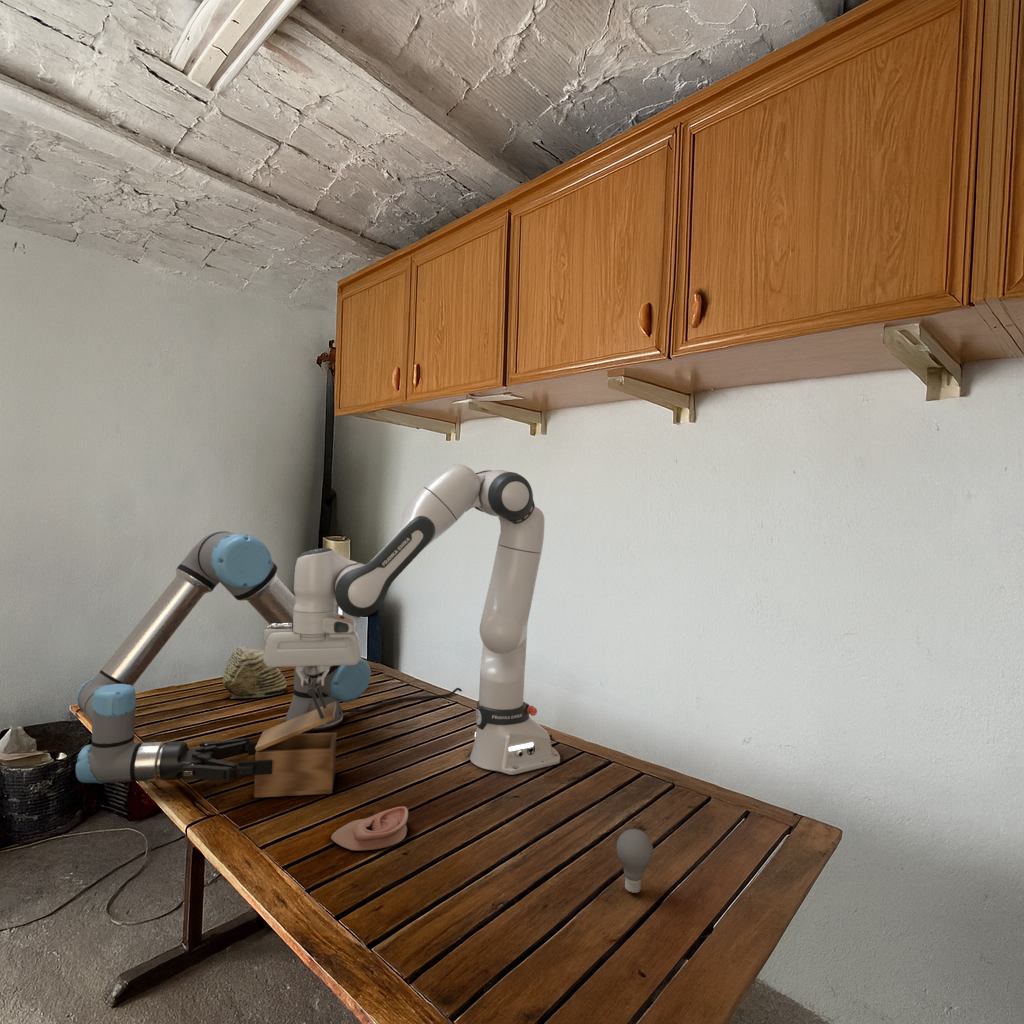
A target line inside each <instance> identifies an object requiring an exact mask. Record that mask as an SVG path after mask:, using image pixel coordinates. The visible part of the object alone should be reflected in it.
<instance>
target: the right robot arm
mask: <svg viewBox="0 0 1024 1024" xmlns="http://www.w3.org/2000/svg"><path fill="white" fill-rule="evenodd" d="M533 494H534V493H533V488H532V486H531V484H530V482H529V481H528V480H527V479H526V478H525V477H524V476H523V475H522V474H519V473H517V472H515V471H514V472H513V471H508V470H503V469H496V470H491V469H489V470H487V469H486V470H482V471H478V472H475V471H474V470H473V469H472V468H470V467H469V466H467V465H465V464H461V463H456V464H453V465H450V466H449V467H447V468H446V469H444V470H443V471H441V472H439V473H438V474H437V475H436V476H435V477H433V478H431V480H430V481H428V482H427V483H426V484H425V485H424V486H423V487H422V488H421V489H419V491H417V493H416V494H415V495H414V496H413V498H411V500H410V501H409V502H408V504H407V505H406V506H405V508H404V510H403V516H402V521H401V525H400V527H399V529H398V531H397V532H396V534H395V536H393V538H392V539H390V540H389V542H387V544H386V545H385V546H384V547H383V548H382V549H381V550H380V551H379V552H378V553H377V554H376V555H375V556H374V557H373V558H372V559H371V560H370V561H369V562H367V563H365V564H364V563H362V562H358V561H355V560H352V559H349V558H348V557H345V556H343V555H341V554H339V553H338V552H336V551H335V550H334V549H333V548H329V547H320V548H315V549H310V550H306V551H304V552H302V553H301V554H300V555H299V556H298V557H297V559H296V562H295V567H294V577H293V593H294V596H295V604H294V608H293V623H282V624H278V623H272V624H271V625H270V624H269V625H267V626H266V627H265V628H264V630H263V642H264V643H265V647H264V652H265V653H264V664H265V665H266V666H267V667H276V668H292V667H293V668H294V667H296V672H297V674H298V676H299V677H300V679H301V687H303V686H308V685H309V681H308V680H309V677H305V675H304V673H303V672H302V671H303V669H304V666H323V671H324V673H323V674H322V676H318V678H317V686H324V681H325V677H326V675H327V673H328V672H329V670H330V666H339V665H357V664H358V663H359V662H360V660H361V658H362V654H361V652H362V651H361V640H360V635H359V633H358V632H357V631H356V626H357V623H356V620H355V617H356V618H364V617H367V616H371V615H372V614H374V613H375V612H377V610H379V609H380V608H381V606H382V605H383V603H384V601H385V599H386V596H387V594H388V591H389V590H390V587H391V585H392V584H393V583H394V581H395V580H396V579H397V578H398V577H399V576H400V575H401V573H403V571H404V570H405V569H406V568H407V567H408V566H409V565H410V564H411V563H412V562H413V561H414V560H415V559H416V557H418V555H419V554H420V553H421V552H422V551H423V550H425V549H426V548H427V547H428V546H429V545H430V544H431V543H433V542H435V541H436V540H437V539H438V538H440V537H441V536H442V535H443V534H444V533H445V532H447V531H448V530H449V529H450V528H452V526H454V525H455V524H456V522H458V520H460V518H462V517H463V516H464V514H465V513H467V512H469V511H470V510H471V509H473V508H474V509H476V510H477V511H480V512H482V513H485V514H487V515H489V516H492V517H497V518H498V520H499V524H500V533H499V536H498V541H497V546H496V551H495V557H494V560H493V566H492V571H491V576H490V580H489V584H488V587H487V592H486V596H485V601H484V606H483V609H482V615H481V618H480V622H479V637H480V639H481V642H482V652H481V662H480V667H479V669H480V670H479V691H478V692H479V693H478V701H477V702H476V710H475V723H476V730H475V732H474V742H473V746H472V750H471V753H470V755H469V760H470V762H471V763H472V764H473V765H475V766H476V767H478V768H480V769H484V770H487V771H488V770H489V771H494V772H500V773H502V774H506V775H511V776H514V775H519V774H522V773H527V772H530V771H534V770H539V769H543V768H546V767H551V766H554V765H559V764H560V763H561V756H560V754H559V752H558V751H557V749H556V748H554V747H553V746H552V741H551V739H552V738H553V735H552V734H549V733H548V731H547V729H545V728H544V727H543V726H542V725H540V724H539V723H538V722H537V721H536V720H535V719H533V718H532V717H531V716H533V717H535V716H537V714H538V709H537V708H536V707H535V706H534V705H530V704H529V703H527V702H526V701H524V698H525V697H524V695H525V678H526V677H525V674H526V673H525V671H526V660H527V659H526V657H527V643H528V641H527V639H528V624H529V618H530V612H531V608H532V602H533V597H534V593H535V589H536V588H535V587H536V584H537V579H538V574H539V568H540V564H541V558H542V552H543V546H544V541H545V524H546V523H545V521H546V520H545V514H544V513H543V511H542V510H541V509H540V508H538V507H537V506H536V505H535V501H534V495H533ZM337 606H338V608H339V609H340V610H341V611H342V612H343V613H344V614H346V615H343V614H341V613H337V612H336V611H337V610H336V608H337ZM347 615H349V616H347ZM353 617H354V618H353Z"/></svg>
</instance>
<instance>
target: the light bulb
mask: <svg viewBox="0 0 1024 1024" xmlns="http://www.w3.org/2000/svg"><path fill="white" fill-rule="evenodd" d="M615 849H616V854H617V857H618V859H619V861H620V863H621V865H622V867H623V873H624V874H623V875H624V876H625V878H624V888H625V890H627V891H628V892H630V893H634V894H635V893H639V892H640V891H641V889H642V887H641V886H642V879H643V877H644V875H645V871H646V868H647V867H648V866H649V864H650V863H651V861H652V859H653V855H654V847H653V843H652V841H651V838H649V836H648V835H647V834H646V833H645V832H643V831H642V830H641V829H636V828H629V829H627V830H625V831H623V832H622V833H621V834H620V835H619V837H618V839H617V841H616V847H615Z"/></svg>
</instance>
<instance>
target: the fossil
mask: <svg viewBox="0 0 1024 1024" xmlns="http://www.w3.org/2000/svg"><path fill="white" fill-rule="evenodd" d="M264 653H265V649H263V648H260V647H258V648H251V647H247V646H246V647H245V646H238V647H237V648H236V649H235V650H233V651H232V653H231V656H230V657H229V659H228V660H227V663H226V666H225V668H224V671H223V675H222V676H223V677H222V685H223V687H224V688H225V690H226V691H228V693H229V698H230V699H250V698H264V697H271V696H275V695H281V694H284V693H285V691H286V689H287V687H288V686H287V680H286V678H285V676H284V674H283V673H282V672H281V669H279V667H267V666H266V665H265V664H264Z"/></svg>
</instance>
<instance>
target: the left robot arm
mask: <svg viewBox="0 0 1024 1024" xmlns="http://www.w3.org/2000/svg"><path fill="white" fill-rule="evenodd" d="M272 558H273V557H272V555H271V552H270V550H269V548H268V546H267V545H266V544H265V543H264V542H262V541H261V540H259V539H258V538H256V537H255V536H252V535H250V534H245V533H236V532H231V531H226V530H224V531H215V532H211V533H210V534H207V535H205V536H204V537H203V538H201V539H200V540H199V541H198V542H197V543H196V544H195V545H194V547H192V548H191V550H190V551H189V552H188V553H187V554H186V556H185V558H184V559H183V560H182V561H181V562H180V564H179V565H178V566H177V567H176V568H175V577H174V578H173V579H172V581H171V582H170V583H169V585H168V586H167V587H166V588H165V590H164V591H163V592H162V594H161V595H160V596H159V597H158V598H157V599H156V601H155V602H154V603H153V604H152V606H151V607H150V608H149V609H148V610H147V612H146V613H145V614H144V616H143V617H142V618H141V620H139V622H138V624H136V626H135V627H134V629H133V630H132V631H131V632H130V633H129V635H128V636H127V637H126V638H125V639H124V641H123V642H122V644H121V645H119V647H118V649H117V650H116V651H115V652H114V654H112V656H111V657H110V658H109V659H108V661H107V662H106V663H105V664H104V666H103V667H102V668H101V669H100V671H99V672H98V673H97V674H96V675H95V677H91V678H90V679H87V680H86V681H84V682H83V683H82V684H81V685H80V687H79V688H78V690H77V692H76V702H77V705H78V708H79V709H80V712H82V713H83V714H85V715H86V717H87V719H88V720H89V721H90V722H91V744H86V745H85V746H83V747H82V748H81V750H80V751H79V753H78V754H77V755H78V756H77V758H76V764H75V777H76V779H77V780H78V782H80V783H82V784H100V785H103V784H110V783H111V784H113V783H127V782H145V783H147V784H149V783H150V782H151V781H159V780H162V781H179V780H181V779H182V780H184V781H185V780H202V781H203V780H204V781H214V782H215V781H216V782H235V781H238V776H255V775H264V774H272V760H257V761H255V760H239V761H238V763H236V762H232V761H225V760H224V759H228V758H231V757H236V756H237V757H238V756H241V755H245V754H248V756H255V754H256V750H255V747H256V745H257V743H258V741H250V740H251V738H250V737H242V738H234V739H226V740H225V739H224V740H217V741H201V742H199V746H198V747H196V748H189V745H188V743H187V742H186V741H167V743H165V742H164V741H153V742H149V741H148V742H135V728H136V727H135V725H136V707H137V702H138V701H137V697H136V688H135V686H134V685H135V684H136V682H137V681H138V680H139V679H140V677H141V676H142V675H143V674H144V672H145V671H146V670H147V668H148V667H149V666H150V665H151V663H152V662H153V661H154V659H155V658H156V657H157V656H158V654H159V653H160V652H161V650H162V649H163V648H164V647H165V645H166V644H167V643H168V641H169V640H170V639H171V638H172V636H173V635H174V634H175V632H176V631H177V630H178V628H179V627H180V626H181V625H182V624H183V622H184V621H185V619H186V618H187V617H188V615H189V614H190V613H192V610H193V609H194V608H195V607H196V606H197V604H198V603H199V601H200V600H201V599H202V598H203V596H204V595H205V594H207V593H208V594H209V593H212V592H213V591H214V589H215V588H216V587H217V586H218V585H219V584H221V585H222V586H223V587H224V589H226V590H227V591H228V592H229V593H230V595H232V597H234V599H236V600H237V601H241V602H242V601H247V602H248V603H249V604H250V605H251V607H252V608H253V609H254V610H255V611H256V612H257V613H258V614H259V615H260V616H261V618H263V619H264V620H265V622H266V623H268V624H269V625H271V624H272V623H278V624H282V623H293V608H294V604H295V594H293V593H292V592H291V590H290V589H289V588H288V587H287V586H286V585H285V584H284V582H283V581H282V580H281V579H280V578H279V577H278V571H279V567H278V566H277V564H276V563H275V562H274V561H273V560H272ZM293 668H294V672H293V695H292V696H293V697H292V699H291V702H290V704H289V708H288V711H287V713H286V715H285V722H287V721H289V720H291V719H294V718H296V717H299V716H301V715H303V714H306V713H308V712H311V711H313V710H316V709H317V708H316V706H315V703H314V701H313V698H312V696H309V695H308V693H307V692H308V689H309V686H310V683H311V680H312V679H313V678H318V676H322V674H323V673H324V671H323V666H304V669H303V671H302V672H303V673H304V675H305V677H309V680H308V681H309V685H308V686H303V687H301V679H300V677H299V676H298V674H297V672H296V667H293ZM371 676H372V670H371V666H370V665H369V662H367V661H366V660H365V659H364V658H362V657H361V660H360V662H359V663H358V664H357V665H339V666H330V670H329V672H328V673H327V675H326V677H325V681H324V686H319V688H320V691H321V693H322V696H323V698H324V701H325V703H326V705H328V704H330V703H333V702H335V701H336V704H337V706H336V711H335V717H334V720H331V721H329V722H327V723H324V724H322V725H320V726H317V727H315V728H312V729H310V730H308V731H305V732H304V733H319V732H325V731H329V730H332V729H335V728H337V727H339V726H340V725H342V723H343V722H344V714H343V713H356V712H357V713H358V712H359V713H360V712H368V711H371V710H372V711H373V710H374V709H377V708H380V707H382V706H386V705H390V704H393V703H397V702H403V701H409V700H422V699H434V698H437V699H438V698H445V697H450V696H452V695H454V694H455V693H456V692H458V691H459V692H460V693H461V692H463V690H462V689H461V688H460V687H456V688H454V690H452V691H451V692H449V693H445V694H444V693H443V694H435V695H421V696H420V695H419V696H408V697H401V698H396V699H392V700H389V701H385V702H381V703H378V704H377V705H373V706H369V707H366V708H352V709H350V708H349V709H342V706H341V702H343V703H350V702H353V701H355V700H357V699H359V698H360V697H361V696H362V695H363V694H364V693H365V692H366V690H367V689H368V687H369V684H370V681H371ZM315 695H316V698H317V700H318V703H319V705H320V707H323V706H322V703H321V701H320V698H319V696H318V693H317V691H316V694H315Z"/></svg>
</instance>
